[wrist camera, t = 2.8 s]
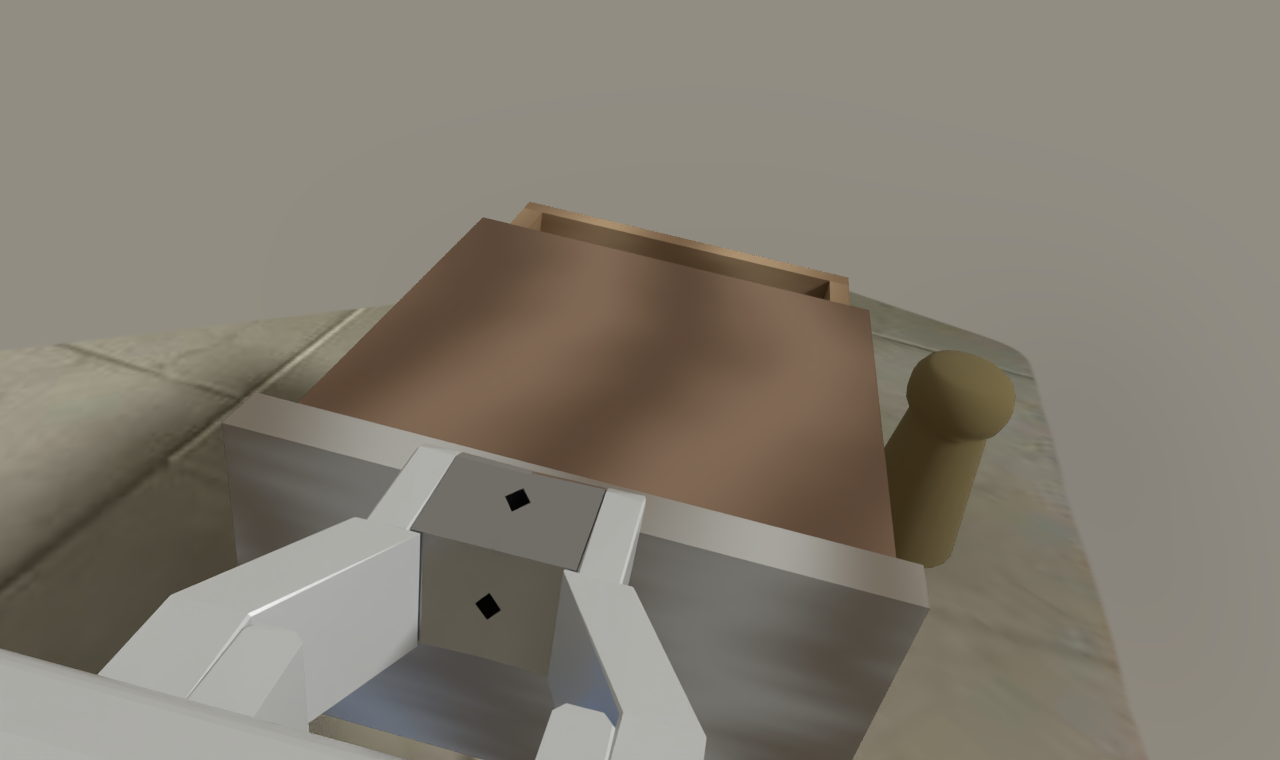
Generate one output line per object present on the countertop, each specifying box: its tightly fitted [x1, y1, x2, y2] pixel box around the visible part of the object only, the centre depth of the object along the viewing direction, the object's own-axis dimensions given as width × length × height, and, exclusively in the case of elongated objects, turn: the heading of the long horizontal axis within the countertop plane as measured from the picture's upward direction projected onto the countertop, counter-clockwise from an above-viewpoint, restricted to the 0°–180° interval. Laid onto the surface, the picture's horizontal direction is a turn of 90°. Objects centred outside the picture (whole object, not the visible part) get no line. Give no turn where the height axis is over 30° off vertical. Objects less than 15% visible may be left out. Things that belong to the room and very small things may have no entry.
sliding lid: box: [222, 218, 930, 760], centre depth 26 cm, size 14×16×9 cm
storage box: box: [510, 202, 850, 306], centre depth 34 cm, size 14×14×16 cm
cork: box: [884, 350, 1016, 568], centre depth 45 cm, size 6×6×11 cm
